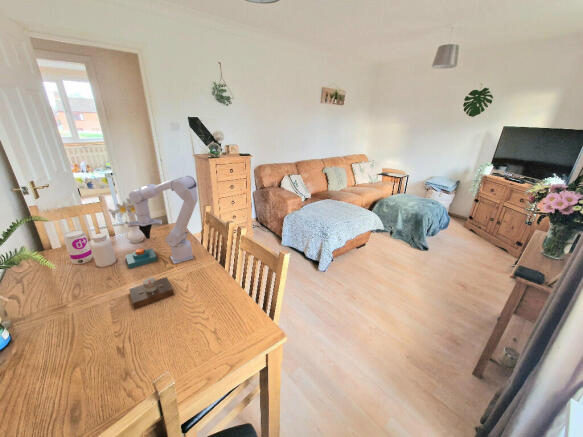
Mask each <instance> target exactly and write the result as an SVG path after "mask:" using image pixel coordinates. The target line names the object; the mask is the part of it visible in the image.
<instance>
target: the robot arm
mask: <svg viewBox="0 0 583 437" xmlns="http://www.w3.org/2000/svg"><path fill="white" fill-rule="evenodd" d="M197 189H198V183H197V181H196V179H195V178H194V177H193V176H191V175H185V176H180V177H175V178H172V179H169V180H167V181H164V182H161V183H159V184H154V183H153V184H151V183H147V184H145V186H140V187H138V188H137V189H135V190H131V191H130V192H129V194H128V197H129V199H130V200H131V201H132V202H134V207H135V211H136V214H135V216H136V221H135V222H130V221H129V222H128V223H126V224H127V228H128V229H129V228H131V227H134V226H138V227H139V230H141V231H142V233H143V234H144V235H145V237H144V238H145V239H146V240H150V239H151V230H152V226H153V225H162V224H163V221H162V219H154V218H153V219H152V217H151V212H150V207H149V200H150V199H152V198H155V197H159V195H160V193H161V192H164V191H167V190H170V191H171V192H174V193H175V194H176V195H177V196H178V197H179V198H180V199H181V200H182V201H183V203H182V204H181V208H180V209H179V210H180V211H179V213H178V216H177V219H176V221H175V224H174V227H173V228H172V229H171V231H169V234H168V235H166V237H165V242H166V244H167V245H168V246H169V247H170V252H171V256H169V258H170V260H171V261H172V263H173V264H174V265H176V264H179V263H183V262H187V261H189V260H193V259H194V254H193V247H192V243H191V241H190V240H189V239H188V240H187V238H188V235H189V233H188V231H189V228H188V225H189V223H190V220H191V218H192V215H193V214H194V213H193V212H194V211H195V208H196V205H197V203H198V200H199V199H198V190H197Z"/></svg>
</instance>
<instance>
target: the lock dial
mask: <svg viewBox="0 0 583 437" xmlns="http://www.w3.org/2000/svg"><path fill="white" fill-rule="evenodd" d="M156 280H157V279H156V278H155V277H147V278H146V279H144V280H143V281H142V285H144V289H145V292H148V293H149V292H153V291H155V290H156V289H157V284H156Z"/></svg>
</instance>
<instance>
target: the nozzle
mask: <svg viewBox="0 0 583 437" xmlns="http://www.w3.org/2000/svg"><path fill="white" fill-rule="evenodd" d="M134 252H136V255H141V254H143V253H144V248H141V247H140V248H137V249H136V250H135V251H134Z"/></svg>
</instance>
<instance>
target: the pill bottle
mask: <svg viewBox="0 0 583 437" xmlns="http://www.w3.org/2000/svg"><path fill="white" fill-rule="evenodd" d="M91 239H92V241H91V242H90V243H89V245H90V248H91V251H92V254H93V259H94V261H95V265H96V266H97V267H99V268H105V267H109V266H111V265H114V264H115V263H116V262H117V257H116V254H115V250H114V246H113V243H112V240H111V239H110V238H108V237H107V234H106V233H103V232H102V233H96V234H94V235H92V236H91Z"/></svg>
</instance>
